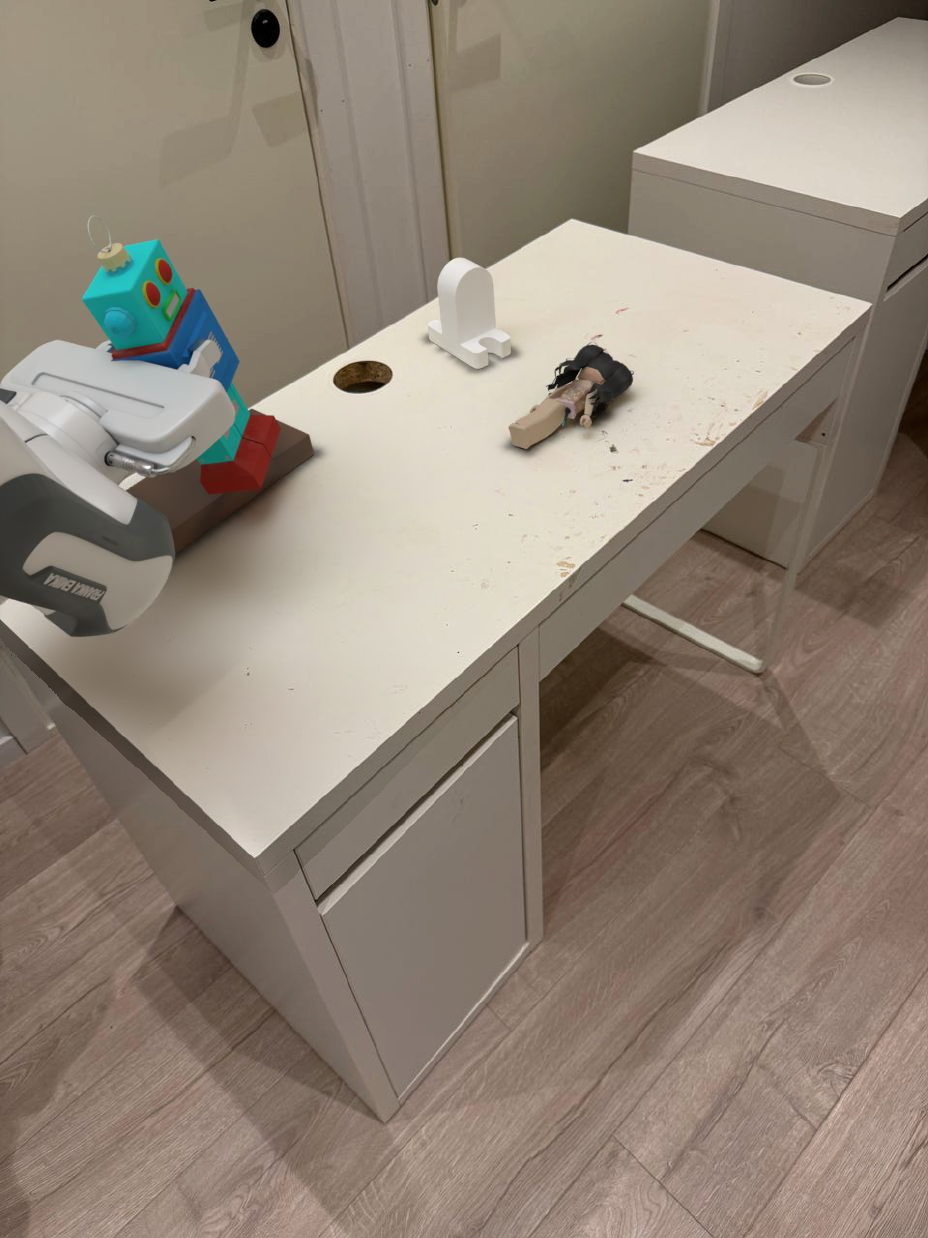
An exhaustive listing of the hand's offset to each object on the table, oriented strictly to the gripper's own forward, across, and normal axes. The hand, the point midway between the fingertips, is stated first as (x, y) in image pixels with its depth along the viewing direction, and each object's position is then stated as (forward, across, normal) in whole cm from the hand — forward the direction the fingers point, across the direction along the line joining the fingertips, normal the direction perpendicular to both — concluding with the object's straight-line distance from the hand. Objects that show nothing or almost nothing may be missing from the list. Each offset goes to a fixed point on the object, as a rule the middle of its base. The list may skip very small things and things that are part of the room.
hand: (179, 337), depth 74 cm
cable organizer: (+31, -6, +24) cm, 40 cm away
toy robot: (-1, 0, +14) cm, 14 cm away
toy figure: (+23, -23, +23) cm, 40 cm away
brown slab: (-4, +5, +18) cm, 19 cm away
